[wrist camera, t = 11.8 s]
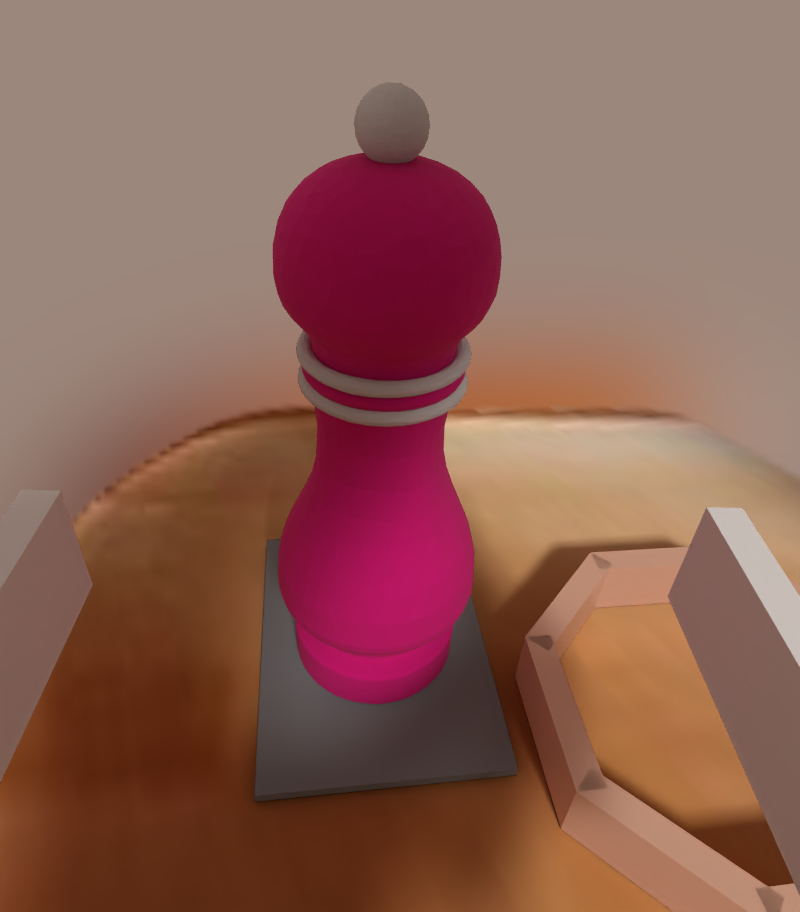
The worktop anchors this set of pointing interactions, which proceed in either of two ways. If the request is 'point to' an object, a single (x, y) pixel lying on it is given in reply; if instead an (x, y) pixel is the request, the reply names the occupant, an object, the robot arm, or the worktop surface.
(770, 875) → the worktop surface
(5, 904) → the worktop surface
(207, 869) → the worktop surface
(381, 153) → the pepper mill
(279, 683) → the mat
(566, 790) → the octagonal frame ring
